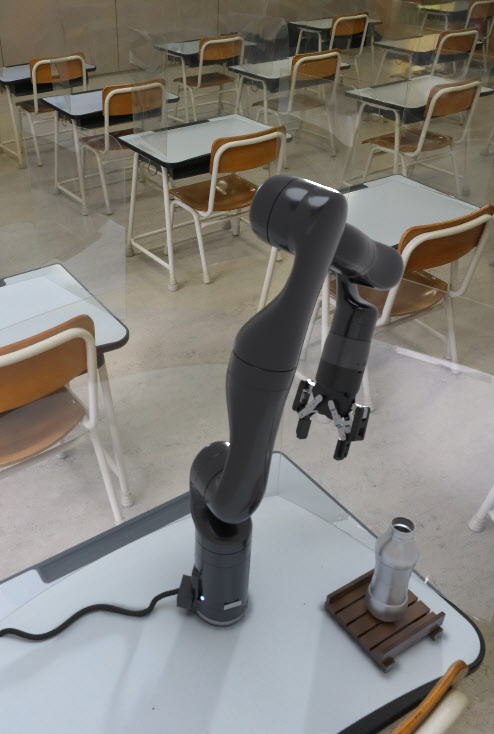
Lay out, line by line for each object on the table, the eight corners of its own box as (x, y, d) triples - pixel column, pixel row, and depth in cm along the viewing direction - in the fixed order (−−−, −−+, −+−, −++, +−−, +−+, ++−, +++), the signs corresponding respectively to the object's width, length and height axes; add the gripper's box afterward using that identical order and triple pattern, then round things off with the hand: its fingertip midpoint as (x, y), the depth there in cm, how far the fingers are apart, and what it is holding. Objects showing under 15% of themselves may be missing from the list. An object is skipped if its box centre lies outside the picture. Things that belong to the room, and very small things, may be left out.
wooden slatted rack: (382, 674, 107) (386, 657, 105) (321, 608, 118) (324, 592, 116) (444, 633, 113) (449, 616, 111) (380, 574, 124) (384, 558, 122)
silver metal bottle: (406, 631, 111) (429, 544, 101) (363, 623, 112) (381, 537, 102) (403, 598, 116) (424, 512, 106) (362, 591, 118) (378, 506, 108)
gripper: (297, 347, 119) (275, 433, 122) (363, 375, 108) (337, 469, 111) (325, 347, 124) (303, 430, 127) (391, 374, 113) (365, 465, 116)
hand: (319, 448), depth 119 cm, fingers open, 8 cm apart
